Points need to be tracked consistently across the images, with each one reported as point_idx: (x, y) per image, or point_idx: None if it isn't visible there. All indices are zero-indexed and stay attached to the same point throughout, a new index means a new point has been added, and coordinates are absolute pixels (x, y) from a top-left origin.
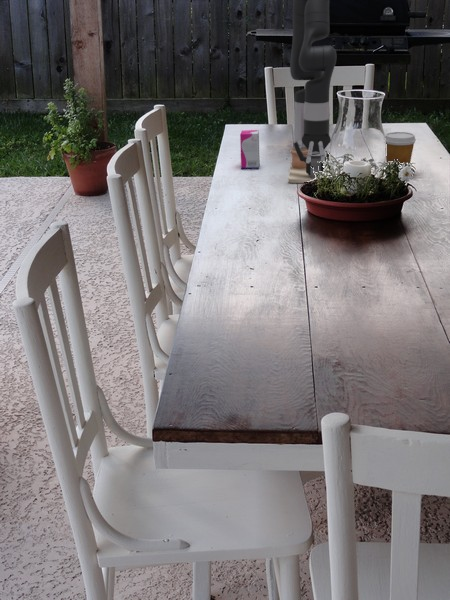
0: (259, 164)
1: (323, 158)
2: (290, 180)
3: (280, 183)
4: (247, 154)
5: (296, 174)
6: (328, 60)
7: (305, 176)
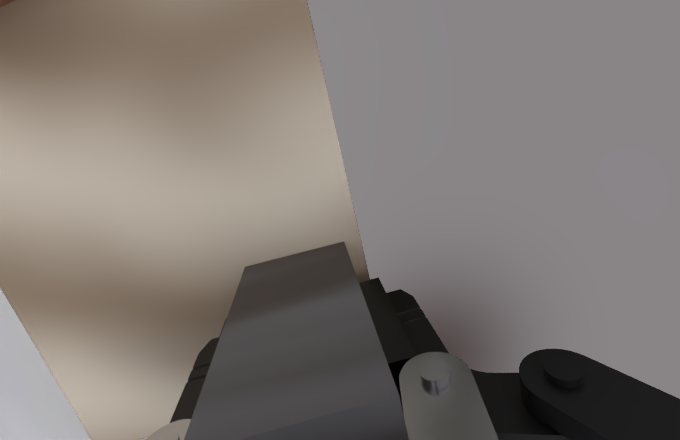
0: None
1: None
2: (119, 437)
3: (48, 435)
4: None
5: (88, 284)
6: None
7: (211, 323)
